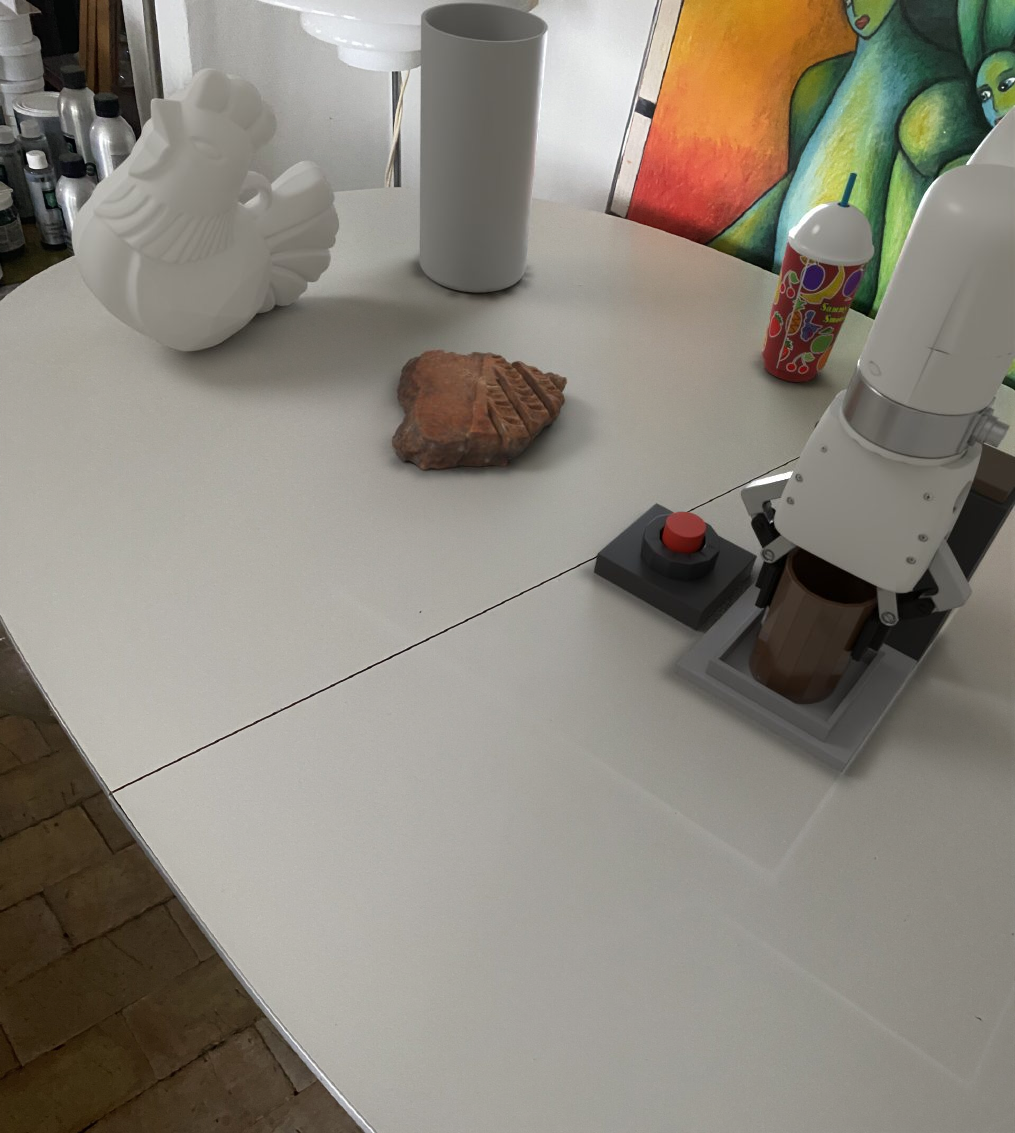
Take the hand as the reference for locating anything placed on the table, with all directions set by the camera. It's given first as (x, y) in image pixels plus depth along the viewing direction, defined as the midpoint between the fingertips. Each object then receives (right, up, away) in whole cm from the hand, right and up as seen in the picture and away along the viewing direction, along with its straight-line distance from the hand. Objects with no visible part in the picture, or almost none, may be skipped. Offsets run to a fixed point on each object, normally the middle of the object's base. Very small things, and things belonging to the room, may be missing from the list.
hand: (814, 621), depth 68 cm
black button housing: (-8, +5, +12) cm, 15 cm away
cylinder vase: (-26, +44, +45) cm, 68 cm away
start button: (-8, +7, +9) cm, 14 cm away
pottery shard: (-25, +21, +25) cm, 41 cm away
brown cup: (0, -3, +4) cm, 5 cm away
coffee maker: (+2, -2, +7) cm, 7 cm away
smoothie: (+9, +29, +35) cm, 47 cm away
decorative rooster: (-51, +32, +32) cm, 68 cm away
